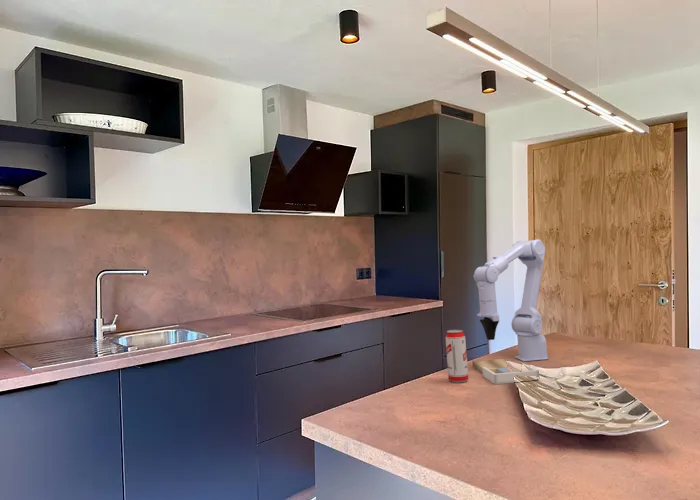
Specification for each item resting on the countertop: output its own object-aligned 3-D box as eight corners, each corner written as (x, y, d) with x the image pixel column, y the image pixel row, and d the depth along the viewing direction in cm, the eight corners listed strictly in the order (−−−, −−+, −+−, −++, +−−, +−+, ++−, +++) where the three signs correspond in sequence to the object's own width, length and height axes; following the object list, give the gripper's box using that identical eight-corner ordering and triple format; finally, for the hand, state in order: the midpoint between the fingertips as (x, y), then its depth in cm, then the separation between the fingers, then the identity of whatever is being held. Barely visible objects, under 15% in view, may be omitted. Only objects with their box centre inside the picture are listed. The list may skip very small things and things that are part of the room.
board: (505, 364, 175) (505, 358, 175) (521, 372, 161) (521, 366, 161) (472, 367, 174) (472, 361, 174) (486, 376, 160) (485, 369, 160)
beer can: (467, 378, 159) (463, 328, 160) (470, 382, 153) (466, 331, 154) (447, 379, 160) (444, 330, 160) (449, 383, 154) (445, 333, 154)
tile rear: (510, 372, 161) (510, 367, 161) (515, 375, 156) (515, 370, 156) (497, 373, 160) (496, 368, 160) (502, 376, 156) (501, 371, 156)
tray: (524, 372, 161) (523, 363, 161) (539, 380, 150) (538, 370, 150) (483, 376, 160) (482, 367, 160) (495, 384, 149) (494, 374, 149)
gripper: (470, 300, 178) (473, 337, 178) (483, 303, 164) (486, 343, 163) (489, 298, 179) (492, 335, 178) (504, 301, 164) (507, 342, 164)
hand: (490, 339), depth 171 cm, fingers closed
